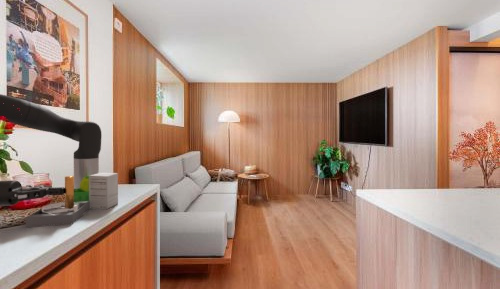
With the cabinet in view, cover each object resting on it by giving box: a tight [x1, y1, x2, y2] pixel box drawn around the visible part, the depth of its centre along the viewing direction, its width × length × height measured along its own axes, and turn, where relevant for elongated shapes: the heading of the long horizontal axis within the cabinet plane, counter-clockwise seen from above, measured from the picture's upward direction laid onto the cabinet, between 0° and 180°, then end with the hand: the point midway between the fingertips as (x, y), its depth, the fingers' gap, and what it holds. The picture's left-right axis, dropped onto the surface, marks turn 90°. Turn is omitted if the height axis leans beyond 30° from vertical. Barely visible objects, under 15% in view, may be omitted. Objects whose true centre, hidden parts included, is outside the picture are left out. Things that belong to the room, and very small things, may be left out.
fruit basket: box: [74, 176, 89, 202], centre depth 101 cm, size 11×9×11 cm
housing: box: [25, 201, 91, 228], centre depth 82 cm, size 16×12×5 cm
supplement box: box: [89, 172, 119, 210], centre depth 96 cm, size 7×7×13 cm
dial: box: [41, 175, 79, 214], centre depth 82 cm, size 10×10×12 cm
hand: (64, 190), depth 80 cm, fingers closed
